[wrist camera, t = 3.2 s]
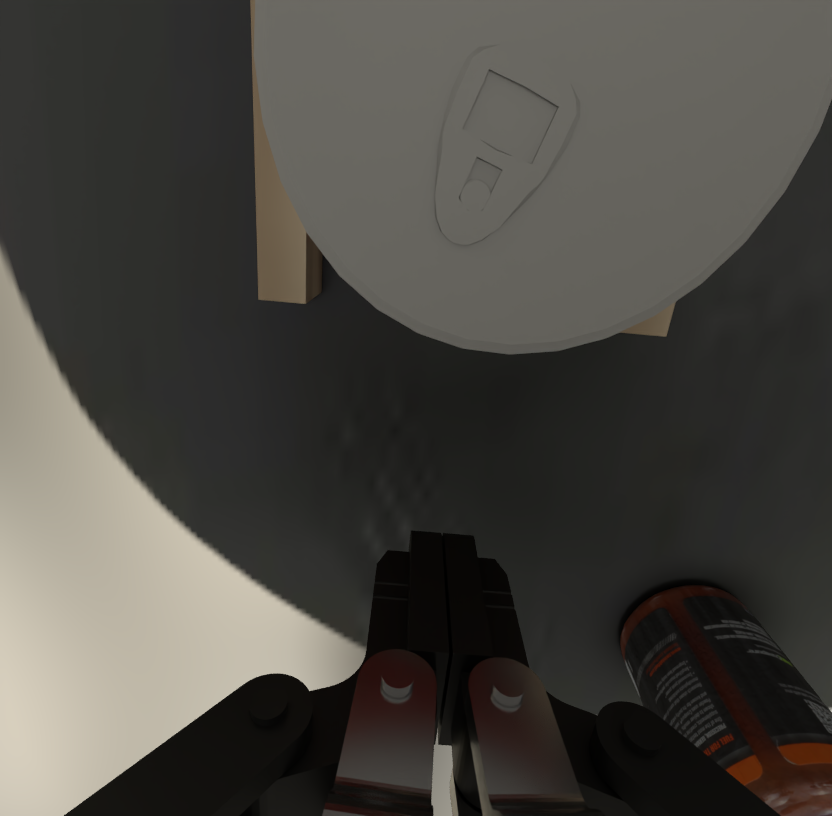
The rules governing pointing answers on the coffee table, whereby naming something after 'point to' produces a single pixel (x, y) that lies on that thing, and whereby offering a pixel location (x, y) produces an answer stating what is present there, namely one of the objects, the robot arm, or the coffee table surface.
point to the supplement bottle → (732, 695)
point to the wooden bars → (294, 249)
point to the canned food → (537, 150)
